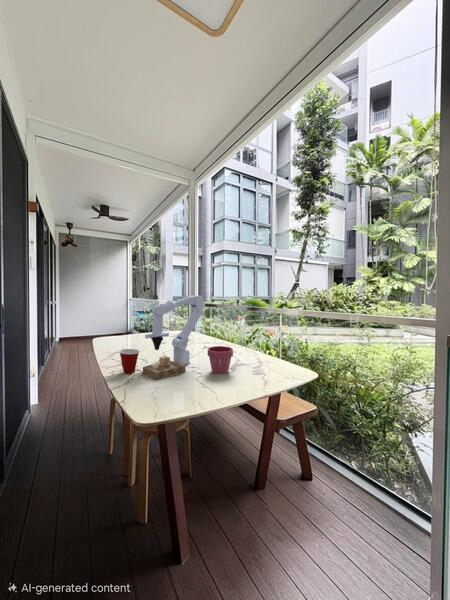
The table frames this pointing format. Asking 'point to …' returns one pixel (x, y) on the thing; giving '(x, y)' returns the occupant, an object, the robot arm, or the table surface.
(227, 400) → the table surface
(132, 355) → the plastic cup
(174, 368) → the walnut socket block
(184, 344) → the robot arm
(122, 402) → the table surface
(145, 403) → the table surface
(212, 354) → the plant pot
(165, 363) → the oak peg
